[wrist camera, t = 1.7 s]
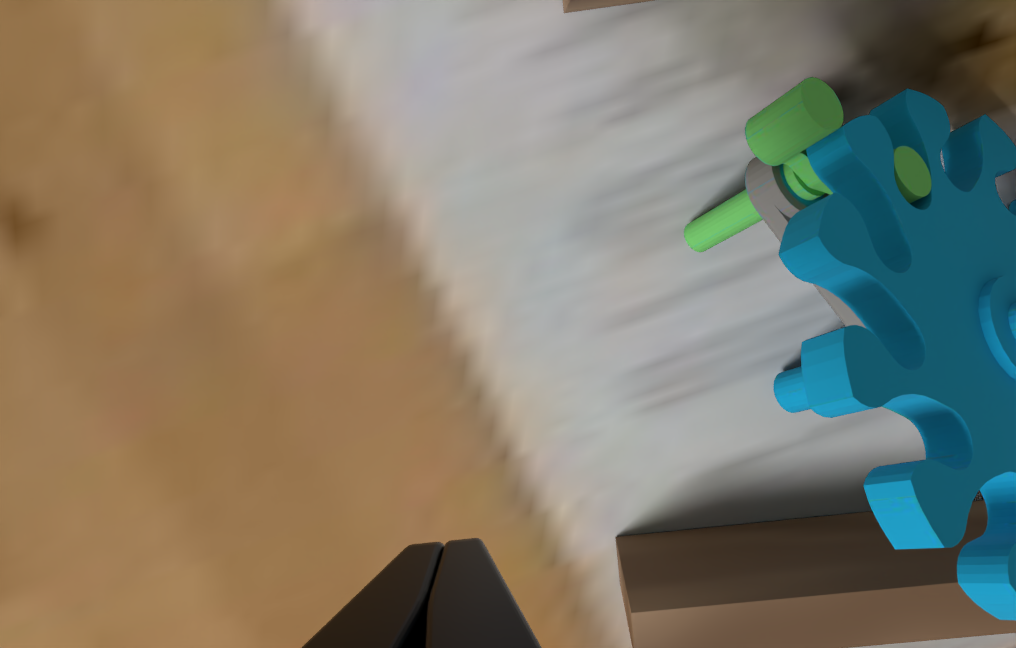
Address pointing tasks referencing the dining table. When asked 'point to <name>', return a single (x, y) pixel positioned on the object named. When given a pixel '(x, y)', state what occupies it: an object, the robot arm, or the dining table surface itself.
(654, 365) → the dining table surface
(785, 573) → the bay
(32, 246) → the dining table surface
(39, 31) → the dining table surface
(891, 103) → the gear
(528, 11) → the dining table surface
